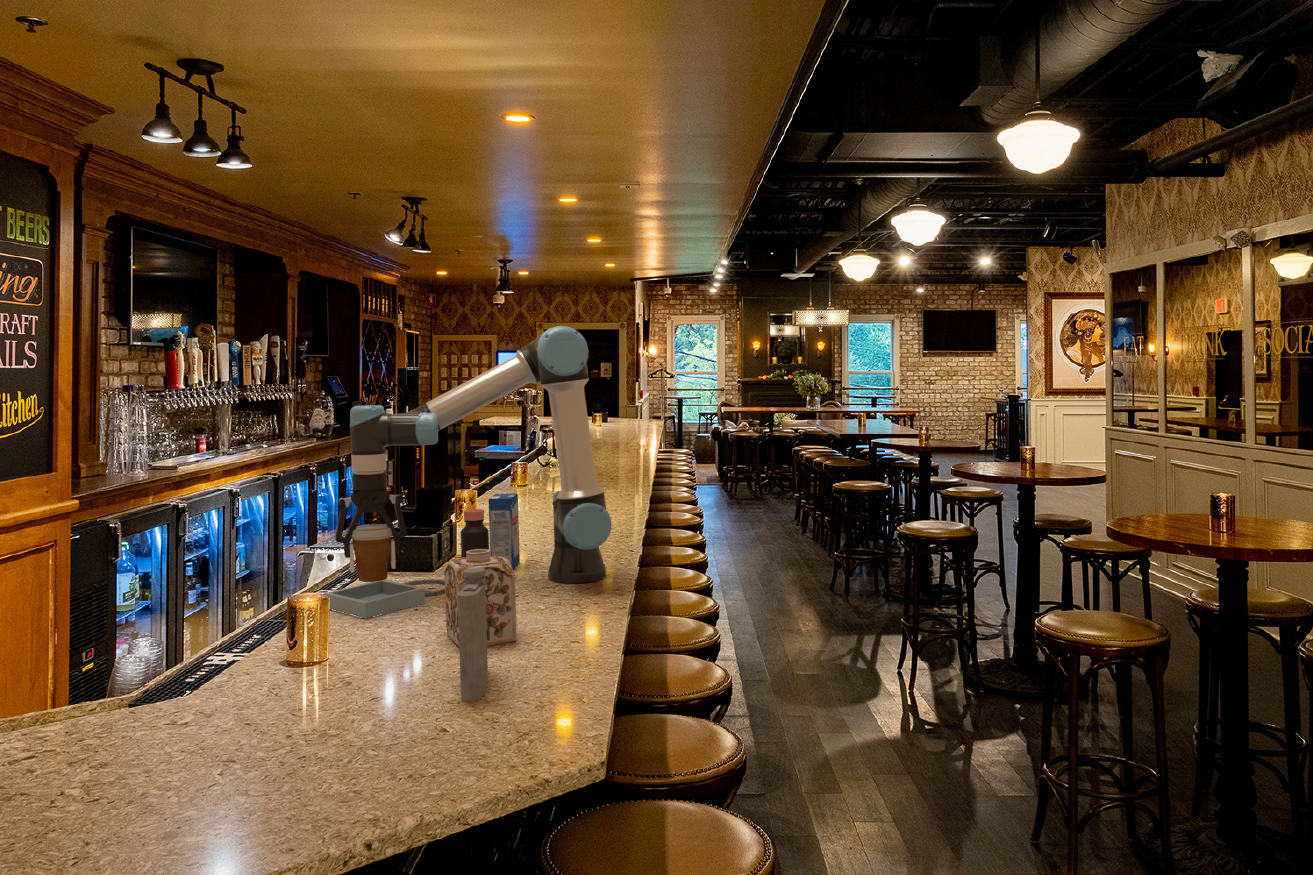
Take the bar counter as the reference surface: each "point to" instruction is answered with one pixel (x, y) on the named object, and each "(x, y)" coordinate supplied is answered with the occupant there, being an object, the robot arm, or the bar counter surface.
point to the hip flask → (473, 636)
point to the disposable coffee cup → (372, 551)
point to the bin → (375, 598)
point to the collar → (429, 582)
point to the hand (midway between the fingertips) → (372, 569)
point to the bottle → (474, 532)
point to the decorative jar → (496, 595)
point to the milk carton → (504, 527)
